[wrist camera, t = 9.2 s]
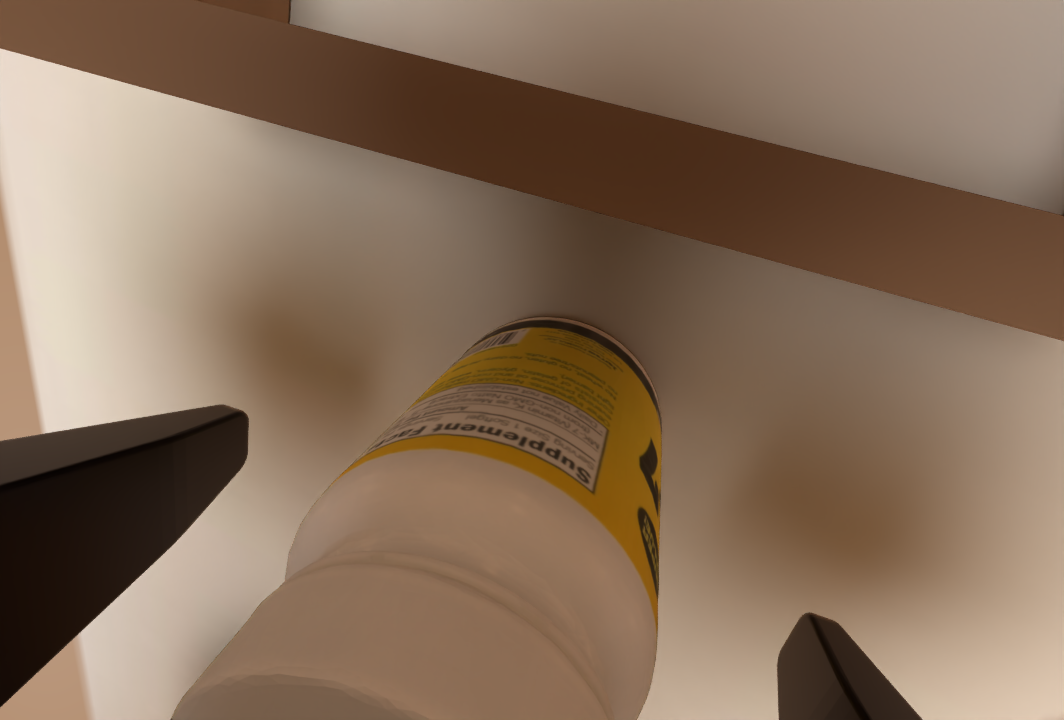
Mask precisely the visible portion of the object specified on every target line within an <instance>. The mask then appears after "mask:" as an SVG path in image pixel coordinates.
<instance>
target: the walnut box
mask: <svg viewBox="0 0 1064 720" xmlns="http://www.w3.org/2000/svg"><path fill="white" fill-rule="evenodd" d="M288 22H289V0H0V48H1V49H5V50H9V51H12V52H16V53H19V54H23V55H27V56H30V57H34V58H38V59H41V60H45V61H48V62H52V63H56V64H59V65H63V66H67V67H70V68H74V69H78V70H81V71H85V72H88V73H92V74H96V75H99V76H103V77H107V78H110V79H114V80H118V81H121V82H125V83H128V84H132V85H136V86H139V87H143V88H147V89H150V90H154V91H157V92H161V93H165V94H168V95H172V96H176V97H179V98H183V99H187V100H190V101H194V102H197V103H201V104H205V105H208V106H212V107H216V108H219V109H223V110H226V111H230V112H234V113H237V114H241V115H245V116H248V117H252V118H256V119H259V120H263V121H266V122H270V123H274V124H277V125H281V126H285V127H288V128H292V129H296V130H299V131H303V132H306V133H310V134H314V135H317V136H321V137H325V138H328V139H332V140H335V141H339V142H343V143H346V144H350V145H354V146H357V147H361V148H365V149H368V150H372V151H375V152H379V153H383V154H386V155H390V156H394V157H397V158H401V159H405V160H408V161H412V162H415V163H419V164H423V165H426V166H430V167H434V168H437V169H441V170H444V171H448V172H452V173H455V174H459V175H463V176H466V177H470V178H474V179H477V180H481V181H484V182H488V183H492V184H495V185H499V186H503V187H506V188H510V189H513V190H517V191H521V192H524V193H528V194H532V195H535V196H539V197H543V198H546V199H550V200H553V201H557V202H561V203H564V204H568V205H572V206H575V207H579V208H583V209H586V210H590V211H593V212H597V213H601V214H604V215H608V216H612V217H615V218H619V219H622V220H626V221H630V222H633V223H637V224H641V225H644V226H648V227H652V228H655V229H659V230H662V231H666V232H670V233H673V234H677V235H681V236H684V237H688V238H691V239H695V240H699V241H702V242H706V243H710V244H713V245H717V246H721V247H724V248H728V249H731V250H735V251H739V252H742V253H746V254H750V255H753V256H757V257H761V258H764V259H768V260H771V261H775V262H779V263H782V264H786V265H790V266H793V267H797V268H800V269H804V270H808V271H811V272H815V273H819V274H822V275H826V276H830V277H833V278H837V279H840V280H844V281H848V282H851V283H855V284H859V285H862V286H866V287H869V288H873V289H877V290H880V291H884V292H888V293H891V294H895V295H899V296H902V297H906V298H909V299H913V300H917V301H920V302H924V303H928V304H931V305H935V306H939V307H942V308H946V309H949V310H953V311H957V312H960V313H964V314H968V315H971V316H975V317H978V318H982V319H986V320H989V321H993V322H997V323H1000V324H1004V325H1008V326H1011V327H1015V328H1018V329H1022V330H1026V331H1029V332H1033V333H1037V334H1040V335H1044V336H1048V337H1051V338H1055V339H1058V340H1062V341H1064V216H1062V215H1058V214H1054V213H1050V212H1046V211H1042V210H1038V209H1034V208H1030V207H1026V206H1022V205H1018V204H1014V203H1010V202H1006V201H1002V200H998V199H994V198H990V197H986V196H982V195H978V194H974V193H970V192H966V191H962V190H958V189H953V188H949V187H945V186H941V185H937V184H933V183H929V182H925V181H921V180H917V179H913V178H909V177H905V176H901V175H897V174H893V173H889V172H885V171H881V170H877V169H873V168H869V167H865V166H861V165H857V164H853V163H849V162H845V161H841V160H837V159H832V158H828V157H824V156H820V155H816V154H812V153H808V152H804V151H800V150H796V149H792V148H788V147H784V146H780V145H776V144H772V143H768V142H764V141H760V140H756V139H752V138H748V137H744V136H740V135H736V134H732V133H728V132H724V131H720V130H716V129H711V128H707V127H703V126H699V125H695V124H691V123H687V122H683V121H679V120H675V119H671V118H667V117H663V116H659V115H655V114H651V113H647V112H643V111H639V110H635V109H631V108H627V107H623V106H619V105H615V104H611V103H607V102H603V101H599V100H595V99H590V98H586V97H582V96H578V95H574V94H570V93H566V92H562V91H558V90H554V89H550V88H546V87H542V86H538V85H534V84H530V83H526V82H522V81H518V80H514V79H510V78H506V77H502V76H498V75H494V74H490V73H486V72H482V71H478V70H474V69H469V68H465V67H461V66H457V65H453V64H449V63H445V62H441V61H437V60H433V59H429V58H425V57H421V56H417V55H413V54H409V53H405V52H401V51H397V50H393V49H389V48H385V47H381V46H377V45H373V44H369V43H365V42H361V41H357V40H353V39H349V38H344V37H340V36H336V35H332V34H328V33H324V32H320V31H316V30H312V29H308V28H304V27H300V26H296V25H292V24H288Z"/></svg>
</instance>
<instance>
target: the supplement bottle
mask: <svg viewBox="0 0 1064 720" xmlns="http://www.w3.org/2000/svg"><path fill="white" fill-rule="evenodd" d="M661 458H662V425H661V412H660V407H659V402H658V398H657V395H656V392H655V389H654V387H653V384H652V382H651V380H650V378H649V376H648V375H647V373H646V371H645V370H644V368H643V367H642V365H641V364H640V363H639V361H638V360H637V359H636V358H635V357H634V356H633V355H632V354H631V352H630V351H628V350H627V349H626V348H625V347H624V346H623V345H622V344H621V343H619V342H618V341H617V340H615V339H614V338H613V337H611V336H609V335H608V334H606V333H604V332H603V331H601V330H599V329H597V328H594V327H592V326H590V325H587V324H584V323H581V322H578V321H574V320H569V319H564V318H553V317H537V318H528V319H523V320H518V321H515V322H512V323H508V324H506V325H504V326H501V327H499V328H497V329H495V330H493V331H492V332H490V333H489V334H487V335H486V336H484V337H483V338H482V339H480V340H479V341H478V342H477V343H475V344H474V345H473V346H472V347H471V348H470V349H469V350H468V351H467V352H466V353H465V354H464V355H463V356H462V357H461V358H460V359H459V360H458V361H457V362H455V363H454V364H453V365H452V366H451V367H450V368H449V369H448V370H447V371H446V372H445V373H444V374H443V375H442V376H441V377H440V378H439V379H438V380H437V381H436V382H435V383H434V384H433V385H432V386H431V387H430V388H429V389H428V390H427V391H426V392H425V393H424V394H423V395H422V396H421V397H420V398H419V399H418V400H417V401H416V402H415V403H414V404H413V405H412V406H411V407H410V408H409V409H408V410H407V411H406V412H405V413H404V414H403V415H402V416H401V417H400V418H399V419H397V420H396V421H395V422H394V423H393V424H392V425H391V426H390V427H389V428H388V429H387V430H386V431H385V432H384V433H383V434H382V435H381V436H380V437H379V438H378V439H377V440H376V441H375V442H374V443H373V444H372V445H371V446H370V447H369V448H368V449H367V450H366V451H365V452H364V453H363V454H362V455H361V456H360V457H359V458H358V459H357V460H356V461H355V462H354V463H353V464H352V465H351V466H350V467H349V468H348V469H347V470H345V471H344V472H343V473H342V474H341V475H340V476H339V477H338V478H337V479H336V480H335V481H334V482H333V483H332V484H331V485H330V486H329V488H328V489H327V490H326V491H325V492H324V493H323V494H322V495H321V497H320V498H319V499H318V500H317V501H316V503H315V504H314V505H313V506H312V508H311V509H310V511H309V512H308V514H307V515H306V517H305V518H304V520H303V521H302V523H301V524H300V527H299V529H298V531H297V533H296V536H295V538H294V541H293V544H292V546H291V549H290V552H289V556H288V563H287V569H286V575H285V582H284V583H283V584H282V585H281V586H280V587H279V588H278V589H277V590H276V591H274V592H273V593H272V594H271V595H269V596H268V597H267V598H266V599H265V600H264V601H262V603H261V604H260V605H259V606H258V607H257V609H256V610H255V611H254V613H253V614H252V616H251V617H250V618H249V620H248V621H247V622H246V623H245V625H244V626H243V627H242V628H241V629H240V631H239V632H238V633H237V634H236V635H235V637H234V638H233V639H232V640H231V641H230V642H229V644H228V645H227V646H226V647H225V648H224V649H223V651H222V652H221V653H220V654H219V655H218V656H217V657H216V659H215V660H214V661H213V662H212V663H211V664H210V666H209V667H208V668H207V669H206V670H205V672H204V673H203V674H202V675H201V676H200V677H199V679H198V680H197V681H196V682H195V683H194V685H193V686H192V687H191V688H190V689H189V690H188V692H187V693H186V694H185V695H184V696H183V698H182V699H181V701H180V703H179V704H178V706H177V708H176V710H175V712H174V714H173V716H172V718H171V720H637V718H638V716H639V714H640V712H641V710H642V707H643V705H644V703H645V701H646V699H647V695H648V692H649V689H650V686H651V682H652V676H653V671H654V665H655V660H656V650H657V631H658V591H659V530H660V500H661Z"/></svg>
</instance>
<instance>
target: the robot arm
mask: <svg viewBox="0 0 1064 720" xmlns="http://www.w3.org/2000/svg"><path fill="white" fill-rule="evenodd" d="M248 428H249V419H248V416H247V414H246V413H245V412H244V411H241V410H239V409H236V408H233V407H230V406H227V405H214V406H208V407H202V408H196V409H190V410H184V411H178V412H172V413H166V414H160V415H154V416H148V417H142V418H136V419H130V420H124V421H118V422H112V423H106V424H100V425H94V426H88V427H82V428H76V429H70V430H64V431H58V432H52V433H46V434H40V435H34V436H28V437H22V438H16V439H10V440H4V441H0V707H1V706H2V705H3V704H4V703H6V702H7V701H8V700H9V699H10V698H11V697H12V696H13V695H14V694H15V693H16V692H17V691H18V690H19V689H20V688H21V687H23V686H24V685H25V684H26V683H27V682H28V681H29V680H30V679H31V678H32V677H33V676H34V675H35V674H36V673H37V672H39V671H40V670H41V669H42V668H43V667H44V666H45V665H46V664H47V663H48V662H49V661H50V660H51V659H52V658H53V657H54V656H55V655H57V654H58V653H59V652H60V651H61V650H62V649H63V648H64V647H65V646H66V645H67V644H68V643H69V642H70V641H71V640H73V639H74V638H75V637H76V636H77V635H78V634H79V633H80V632H81V631H82V630H83V629H84V628H85V627H86V626H87V625H89V624H90V623H91V622H92V621H93V620H94V619H95V618H96V617H97V616H98V615H99V614H100V613H101V612H102V611H103V610H104V609H106V608H107V607H108V606H109V605H110V604H111V603H112V602H113V601H114V600H115V599H116V598H117V597H118V596H119V595H120V594H122V593H123V592H124V591H125V590H126V589H127V588H128V587H129V586H130V585H131V584H132V583H133V582H134V581H135V580H136V579H137V578H139V577H140V576H141V575H142V574H143V573H144V572H145V571H146V570H147V569H148V568H149V567H150V566H151V565H152V564H153V563H154V562H156V561H157V560H158V559H159V558H160V557H161V556H162V555H163V554H164V553H165V552H166V551H167V550H168V549H169V548H170V547H171V546H172V545H173V544H174V543H175V542H176V541H177V540H178V539H179V538H180V537H181V536H182V535H183V534H184V533H185V532H186V531H187V529H188V528H189V527H190V526H191V525H192V524H193V523H194V522H195V520H196V519H197V518H198V517H199V516H200V515H201V514H202V513H203V511H204V510H205V509H206V508H207V507H208V506H209V505H210V503H211V502H212V501H213V500H214V499H215V498H216V497H217V496H218V494H219V493H220V492H221V491H222V490H223V489H224V488H225V486H226V485H227V484H228V483H229V482H230V481H231V480H232V479H233V477H234V476H235V475H236V474H237V473H238V472H239V471H240V469H241V468H242V467H243V465H244V463H245V461H246V459H247V455H248ZM777 677H778V712H779V720H922V718H921V717H920V716H919V715H918V714H917V713H916V712H915V710H914V709H913V708H912V707H911V706H910V705H909V704H908V702H907V701H906V700H905V699H904V698H903V697H902V696H901V694H900V693H899V692H898V691H897V690H896V689H895V688H894V686H893V685H892V684H891V683H890V682H889V681H888V680H887V678H886V677H885V676H884V675H883V674H882V673H881V672H880V670H879V669H878V668H877V667H876V666H875V665H874V664H873V662H872V661H871V660H870V659H869V658H868V657H867V656H866V654H865V653H864V652H863V651H862V650H861V649H860V647H859V646H858V645H857V644H856V643H855V642H854V641H853V639H852V638H851V637H850V636H849V635H848V634H847V633H846V631H845V630H844V629H843V628H842V627H841V626H840V625H839V624H838V623H837V622H835V621H833V620H831V619H828V618H825V617H822V616H819V615H816V614H814V613H805V614H803V615H802V616H801V617H800V619H799V620H798V622H797V624H796V625H795V627H794V629H793V630H792V632H791V634H790V635H789V637H788V639H787V640H786V642H785V644H784V645H783V647H782V649H781V651H780V654H779V657H778V663H777Z"/></svg>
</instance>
